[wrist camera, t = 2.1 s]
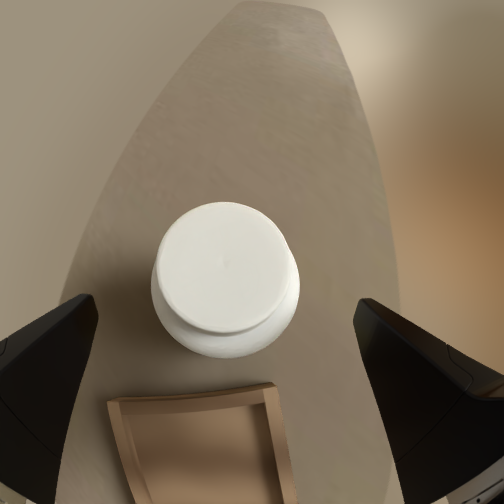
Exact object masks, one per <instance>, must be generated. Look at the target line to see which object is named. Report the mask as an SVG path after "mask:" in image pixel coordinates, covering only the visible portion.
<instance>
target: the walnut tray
mask: <svg viewBox="0 0 504 504" xmlns="http://www.w3.org/2000/svg"><path fill="white" fill-rule="evenodd" d="M107 406H108V411H109V416H110V420H111V424H112V429H113V433H114V437H115V441H116V444H117V448H118V452H119V455H120V459H121V462H122V465H123V468H124V471H125V475H126V478H127V480H128V483H129V486H130V489H131V492H132V494H133V497H134V500H135V502H136V504H298V502H297V496H296V491H295V485H294V479H293V474H292V468H291V463H290V457H289V451H288V446H287V440H286V434H285V429H284V423H283V418H282V412H281V406H280V401H279V395H278V389H277V386H276V385H275V384H273V383H272V382H270V383H265V384H260V385H254V386H248V387H242V388H235V389H228V390H221V391H213V392H204V393H194V394H183V395H170V396H151V397H118V398H115V399H113V400H110V401H107Z"/></svg>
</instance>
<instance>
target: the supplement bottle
mask: <svg viewBox="0 0 504 504" xmlns="http://www.w3.org/2000/svg"><path fill="white" fill-rule="evenodd" d="M299 288H300V283H299V274H298V269H297V265H296V262H295V260H294V257H293V255H292V253H291V251H290V249H289V248H288V245H287V243H286V240H285V238H284V237H283V235H282V233H281V232H280V230H279V229H278V228H277V227H276V225H275V224H274V223H273V222H272V221H271V220H270V219H269V218H267V217H266V216H265V215H263V214H262V213H261V212H259V211H257V210H255V209H253V208H251V207H248V206H245V205H242V204H238V203H232V202H216V203H209V204H205V205H202V206H199V207H197V208H194V209H192V210H190V211H188V212H187V213H185V214H184V215H182V216H181V217H180V218H179V219H178V220H176V221H175V222H174V223H173V224H172V226H171V227H170V228H169V229H168V231H167V232H166V234H165V235H164V237H163V239H162V241H161V243H160V246H159V249H158V253H157V257H156V260H155V263H154V267H153V271H152V277H151V294H152V300H153V304H154V308H155V310H156V313H157V315H158V317H159V319H160V321H161V323H162V324H163V326H164V327H165V329H166V330H167V331H168V332H169V334H170V335H171V336H172V337H173V338H174V339H175V340H177V341H178V342H179V343H180V344H182V345H183V346H185V347H186V348H188V349H190V350H192V351H194V352H196V353H199V354H201V355H204V356H208V357H213V358H223V359H230V358H239V357H243V356H247V355H250V354H253V353H255V352H258V351H259V350H261V349H263V348H265V347H267V346H268V345H269V344H271V343H272V342H273V341H274V340H276V339H277V338H278V337H279V336H280V335H281V334H282V332H283V331H284V330H285V328H286V327H287V326H288V324H289V323H290V321H291V319H292V317H293V315H294V312H295V310H296V306H297V302H298V298H299Z"/></svg>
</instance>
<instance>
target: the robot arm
mask: <svg viewBox="0 0 504 504" xmlns="http://www.w3.org/2000/svg"><path fill="white" fill-rule="evenodd" d="M97 323H98V311H97V308H96V305H95V301H94V298H93V296H92V295H91V294H79V295H78V296H76V297H74V298H72V299H70V300H69V301H67V302H65V303H63V304H62V305H60V306H58V307H57V308H55V309H53V310H51V311H50V312H48V313H46V314H45V315H43V316H41V317H40V318H38V319H36V320H35V321H33V322H31V323H30V324H28V325H26V326H25V327H23V328H21V329H20V330H18V331H16V332H15V333H13V334H12V335H10V336H9V337H8V338H5V339H4V340H2V341H0V504H25V503H26V499H29V500H30V501H32V502H34V503H36V504H55V496H56V488H57V481H58V475H59V469H60V464H61V458H62V452H63V448H64V443H65V439H66V434H67V430H68V426H69V422H70V418H71V414H72V410H73V407H74V403H75V400H76V396H77V393H78V389H79V386H80V383H81V380H82V377H83V374H84V370H85V367H86V364H87V361H88V358H89V355H90V351H91V347H92V343H93V339H94V335H95V331H96V327H97ZM353 325H354V329H355V333H356V337H357V341H358V345H359V349H360V353H361V357H362V361H363V364H364V367H365V369H366V372H367V375H368V378H369V381H370V384H371V387H372V390H373V393H374V396H375V399H376V402H377V405H378V408H379V411H380V414H381V417H382V421H383V424H384V427H385V430H386V434H387V437H388V441H389V444H390V447H391V451H392V455H393V458H394V462H395V463H396V464H395V466H396V470H397V474H398V478H399V482H400V486H401V490H402V494H403V498H404V502H405V504H431V503H433V502H435V501H437V500H439V499H441V498H443V497H444V496H446V497H447V500H448V502H449V504H504V375H502V374H500V373H498V372H496V371H495V370H493V369H491V368H489V367H487V366H485V365H483V364H481V363H479V362H477V361H476V360H474V359H472V358H470V357H468V356H466V355H465V354H463V353H461V352H460V351H458V350H456V349H455V348H453V347H452V346H450V345H448V344H447V345H446V343H445V342H443V341H442V340H440V339H438V338H437V337H435V336H433V335H432V334H430V333H429V332H427V331H425V330H423V329H422V328H420V327H418V326H417V325H415V324H414V323H412V322H410V321H409V320H407V319H405V318H403V317H402V316H400V315H399V314H397V313H395V312H394V311H392V310H390V309H389V308H387V307H385V306H384V305H382V304H380V303H379V302H377V301H375V300H373V299H372V298H362V299H360V300H359V302H358V305H357V308H356V311H355V314H354V318H353Z"/></svg>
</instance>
